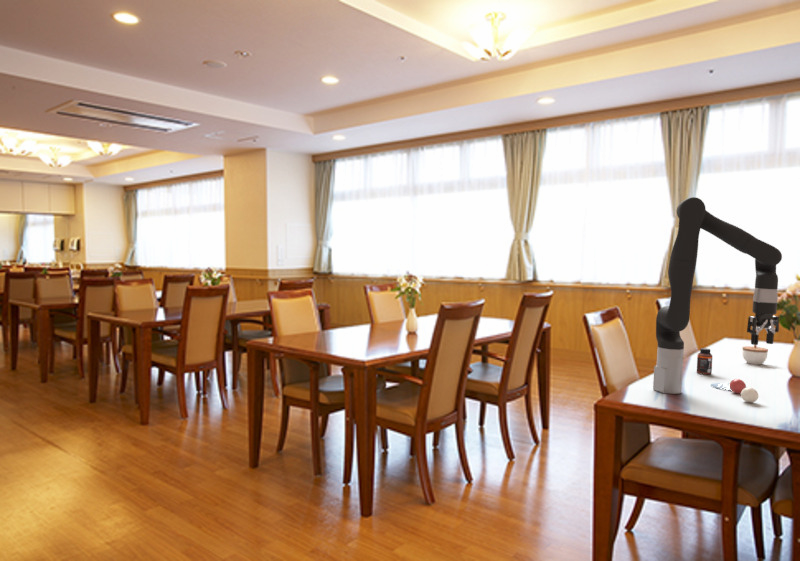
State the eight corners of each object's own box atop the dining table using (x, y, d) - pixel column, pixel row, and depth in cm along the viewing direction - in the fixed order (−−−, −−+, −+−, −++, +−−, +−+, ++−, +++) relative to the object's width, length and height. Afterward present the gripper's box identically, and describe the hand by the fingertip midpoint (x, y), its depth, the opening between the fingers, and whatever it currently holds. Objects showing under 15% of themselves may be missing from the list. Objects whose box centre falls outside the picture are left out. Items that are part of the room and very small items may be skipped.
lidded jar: (746, 360, 286) (747, 342, 285) (770, 364, 278) (771, 345, 277) (738, 362, 279) (739, 344, 278) (762, 366, 271) (763, 347, 270)
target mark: (730, 392, 217) (730, 392, 217) (702, 384, 231) (702, 383, 231) (759, 391, 221) (759, 390, 221) (730, 382, 234) (730, 382, 234)
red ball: (737, 395, 214) (738, 381, 214) (725, 391, 219) (726, 377, 219) (748, 394, 215) (749, 380, 215) (737, 391, 221) (738, 377, 220)
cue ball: (749, 404, 201) (750, 389, 200) (736, 400, 206) (737, 386, 206) (761, 404, 202) (762, 389, 202) (748, 400, 207) (749, 385, 207)
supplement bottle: (713, 375, 248) (714, 350, 247) (698, 374, 249) (700, 349, 249) (708, 372, 254) (710, 348, 253) (694, 371, 255) (696, 347, 254)
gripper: (767, 299, 212) (764, 341, 213) (742, 299, 207) (739, 343, 208) (787, 301, 206) (784, 345, 207) (762, 302, 200) (759, 346, 201)
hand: (761, 344), depth 207 cm, fingers open, 8 cm apart
